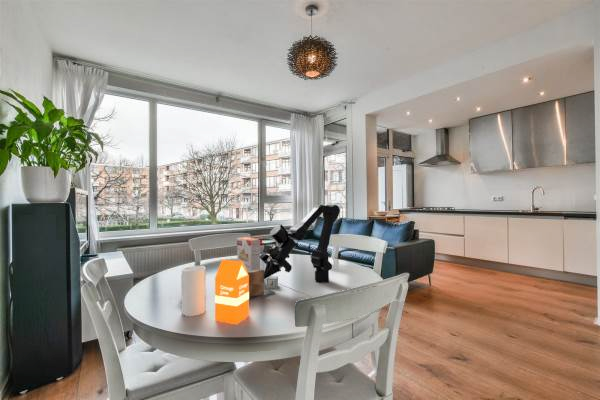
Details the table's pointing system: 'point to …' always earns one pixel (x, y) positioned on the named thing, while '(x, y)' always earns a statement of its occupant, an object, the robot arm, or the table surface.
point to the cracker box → (249, 253)
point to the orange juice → (231, 292)
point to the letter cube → (272, 282)
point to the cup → (193, 290)
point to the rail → (266, 293)
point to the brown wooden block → (256, 282)
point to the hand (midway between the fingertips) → (263, 278)
